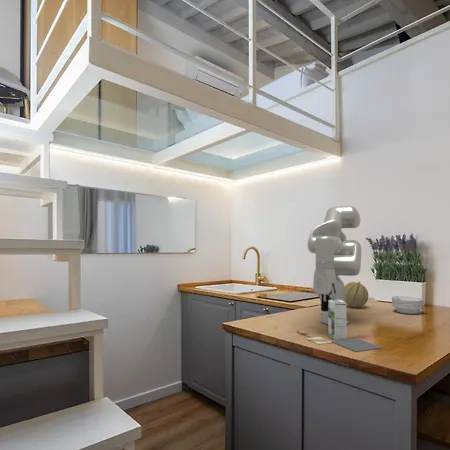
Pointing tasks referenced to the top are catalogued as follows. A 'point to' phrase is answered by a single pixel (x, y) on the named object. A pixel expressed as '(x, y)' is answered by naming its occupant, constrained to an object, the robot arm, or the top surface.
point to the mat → (356, 345)
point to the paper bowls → (407, 304)
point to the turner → (314, 338)
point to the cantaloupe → (355, 294)
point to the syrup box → (337, 320)
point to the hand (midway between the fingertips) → (325, 310)
